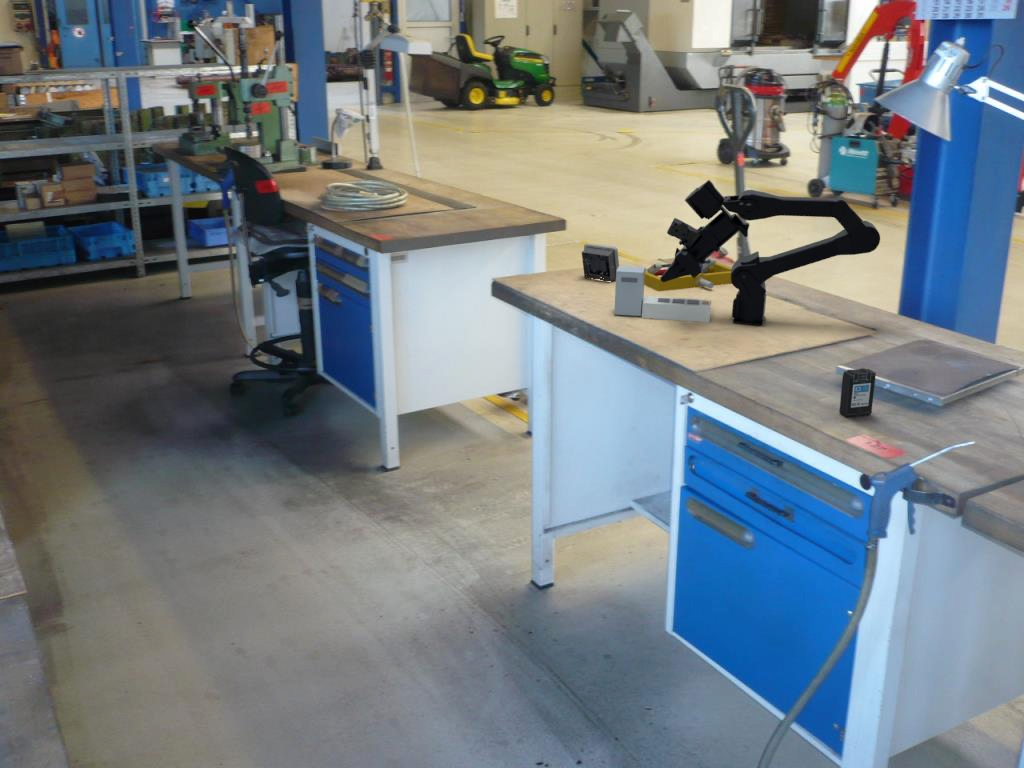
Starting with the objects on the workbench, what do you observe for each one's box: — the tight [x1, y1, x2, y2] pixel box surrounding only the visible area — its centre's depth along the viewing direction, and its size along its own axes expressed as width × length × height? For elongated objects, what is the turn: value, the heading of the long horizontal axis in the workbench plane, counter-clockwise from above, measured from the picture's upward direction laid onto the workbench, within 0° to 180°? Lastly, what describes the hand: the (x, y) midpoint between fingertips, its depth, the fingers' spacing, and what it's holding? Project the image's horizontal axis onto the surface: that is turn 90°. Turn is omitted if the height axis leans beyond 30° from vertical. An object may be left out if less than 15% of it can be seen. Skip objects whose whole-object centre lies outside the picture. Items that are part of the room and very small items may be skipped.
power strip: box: [641, 295, 712, 323], centre depth 246 cm, size 15×17×4 cm
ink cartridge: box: [839, 368, 877, 419], centre depth 183 cm, size 5×2×8 cm, turn 105°
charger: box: [613, 265, 646, 317], centre depth 242 cm, size 8×6×10 cm
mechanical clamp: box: [644, 258, 733, 292], centre depth 271 cm, size 18×6×30 cm
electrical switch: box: [581, 242, 620, 283], centre depth 272 cm, size 9×5×9 cm, turn 58°
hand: (661, 280), depth 240 cm, fingers closed
